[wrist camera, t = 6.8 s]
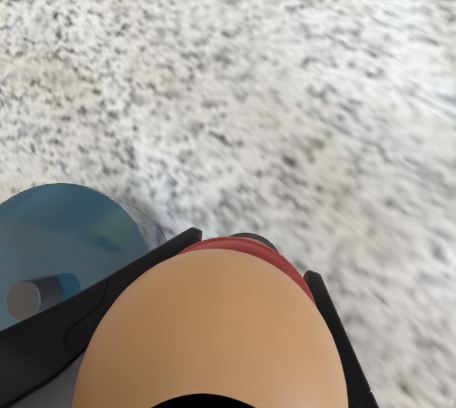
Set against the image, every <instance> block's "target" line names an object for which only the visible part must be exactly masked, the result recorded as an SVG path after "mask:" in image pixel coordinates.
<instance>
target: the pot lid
mask: <svg viewBox="0 0 456 408" xmlns="http://www.w3.org/2000/svg"><path fill="white" fill-rule="evenodd" d="M150 251H152V249H151V246H150V243H149V241H148V239H147V237H146V235H145V233H144V231H143V229H142V228H141V226H140V225H139V223H138V222H137V221H136V219H135V218H134V217H133V215H132V214H131V213H130V212H129V211H128V210H127V209H126V208H125V207H124V206H123V205H121V204H120V203H119V202H117V201H116V200H115V199H113V198H112V197H110V196H108V195H106V194H104V193H103V192H100V191H98V190H95V189H92V188H89V187H86V186H81V185H77V184H68V183H55V184H46V185H42V186H37V187H33V188H31V189H28V190H25V191H23V192H21V193H19V194H17V195H15V196H13V197H11V198H9V199H8V200H6V201H5V202H3V203H2V204H0V331H1V330H3V329H5V328H7V327H10V326H12V325H14V324H16V323H18V322H20V321H22V320H24V319H26V318H28V317H30V316H32V315H35V314H37V313H39V312H41V311H43V310H45V309H47V308H49V307H51V306H53V305H55V304H57V303H59V302H61V301H63V300H65V299H67V298H69V297H71V296H73V295H75V294H77V293H79V292H81V291H83V290H85V289H86V288H88V287H90V286H92V285H93V284H95V283H97V282H99V281H100V280H102V279H104V278H107V277H108V276H109V275H111V274H112V273H114V272H116V271H118V270H119V269H121V268H123V267H124V266H126V265H128V264H130V263H131V262H133V261H135V260H136V259H138V258H140V257H141V256H143V255H145V254H147V253H148V252H150Z"/></svg>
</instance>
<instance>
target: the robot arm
mask: <svg viewBox="0 0 456 408" xmlns="http://www.w3.org/2000/svg"><path fill="white" fill-rule="evenodd" d="M201 239H202V231H201V230H200V229H197V228H194V227H191V228H189V229H188V230H186V231H184V232H182V233H181V234H179V235H177V236H176V237H174V238H172V239H171V240H169V241H167V242H165V243H164V244H162V245H160V246H159V247H157V248H155V249H153V250H152V251H150V252H148V253H147V254H145V255H143V256H141V257H140V258H138V259H136V260H135V261H133V262H131V263H130V264H128V265H126V266H124V267H123V268H121V269H119V270H118V271H116V272H114V273H112V274H111V275H109V276H108V277H107V278H104V279H102V280H100V281H99V282H97V283H95V284H93V285H92V286H90V287H88V288H86V289H85V290H83V291H81V292H79V293H77V294H75V295H73V296H71V297H69V298H67V299H65V300H63V301H61V302H59V303H57V304H55V305H53V306H51V307H49V308H47V309H45V310H43V311H41V312H39V313H37V314H35V315H32V316H30V317H28V318H26V319H24V320H22V321H20V322H18V323H16V324H14V325H12V326H10V327H7V328H5V329H3V330H1V331H0V408H72V402H73V395H74V390H75V385H76V380H77V377H78V373H79V369H80V366H81V363H82V360H83V358H84V355H85V353H86V350H87V348H88V346H89V343H90V341H91V339H92V336H93V334H94V333H95V331H96V329H97V327H98V325H99V323H100V322H101V320H102V319H103V317H104V316H105V314H106V313H107V312H108V310H109V309H110V307H111V306H112V305H113V303H114V302H115V300H116V299H117V298H118V297H119V296H120V295H121V294H122V293H123V291H124V290H125V289H126V288H127V287H128V286H130V285H131V284H132V283H133V282H134V281H135V280H137V279H138V278H139V277H140V276H141V275H142V274H144V273H145V272H146V271H148V270H149V269H151V268H153V267H154V266H156V265H157V264H159V263H161V262H163V261H166V260H168V259H170V258H172V257H174V256H176V255H177V254H178V253H180V252H181V251H183V250H184V249H186V248H187V247H189V246H191V245H194V244H196V243H198V242H201ZM303 279H304V281H305V282H306V284H307V286H308V288H309V290H310V292H311V294H312V296H313V299H314V301H315V304H316V307H317V309H318V311H319V312H320V314H321V316H322V317H323V319H324V321H325V323H326V325H327V327H328V329H329V331H330V333H331V335H332V337H333V340H334V342H335V345H336V348H337V351H338V354H339V357H340V360H341V364H342V368H343V373H344V377H345V382H346V388H347V398H348V408H379V407H378V405H377V402H376V400H375V398H374V395H373V393H372V392H370V390H371V389H370V387H369V384H368V382H367V380H366V377H365V375H364V373H363V371H362V368H361V366H360V364H359V361H358V359H357V357H356V355H355V352H354V350H353V348H352V346H351V343H350V341H349V339H348V336H347V334H346V332H345V330H344V327H343V325H342V323H341V320H340V318H339V316H338V314H337V311H336V309H335V307H334V305H333V302H332V300H331V298H330V295H329V293H328V291H327V289H326V286H325V284H324V282H323V279H322V277H321V275H320V274H319V273H316V272H314V271H311V270H308V271H307V272H306V273H305V275H304V276H303Z"/></svg>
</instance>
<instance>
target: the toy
mask: <svg viewBox="0 0 456 408" xmlns="http://www.w3.org/2000/svg"><path fill="white" fill-rule="evenodd" d="M72 408H348V398H347V388H346V382H345V377H344V373H343V368H342V364H341V360H340V357H339V354H338V351H337V348H336V345H335V342H334V340H333V337H332V335H331V333H330V331H329V329H328V327H327V325H326V323H325V321H324V319H323V317H322V316H321V314H320V312H319V311H318V309H317V307H316V304H315V301H314V299H313V296H312V294H311V292H310V290H309V288H308V286H307V284H306V282H305V281H304V279H303V278H302V276H301V275H300V273H299V272H298V271H297V270H296V269H295V268H294V266H293V265H292V264H291V263H290V262H288V261H287V260H286V259H285V258H284V257H283V256H282V255H280V254H279V252H278V251H277V249H276V248H275V247H274V245H273V244H272V243H270V242H269V241H268V240H267V239H265V238H263V237H261V236H259V235H256V234H252V233H238V234H234V235H231V236H229V237H217V238H212V239H207V240H204V241H201V242H198V243H196V244H194V245H191V246H189V247H187V248H186V249H184V250H183V251H181V252H180V253H178V254H177V255H176V256H174V257H172V258H170V259H168V260H166V261H163V262H161V263H159V264H157V265H156V266H154V267H153V268H151V269H149V270H148V271H146V272H145V273H144V274H142V275H141V276H140V277H139V278H138V279H137V280H135V281H134V282H133V283H132V284H131V285H130V286H128V287H127V288H126V289H125V290H124V291H123V293H122V294H121V295H120V296H119V297H118V298H117V299H116V300H115V302H114V303H113V305H112V306H111V307H110V309H109V310H108V312H107V313H106V314H105V316H104V317H103V319H102V320H101V322H100V323H99V325H98V327H97V329H96V331H95V333H94V334H93V336H92V339H91V341H90V343H89V346H88V348H87V350H86V353H85V355H84V358H83V360H82V363H81V366H80V369H79V373H78V377H77V380H76V385H75V390H74V395H73V402H72Z"/></svg>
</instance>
